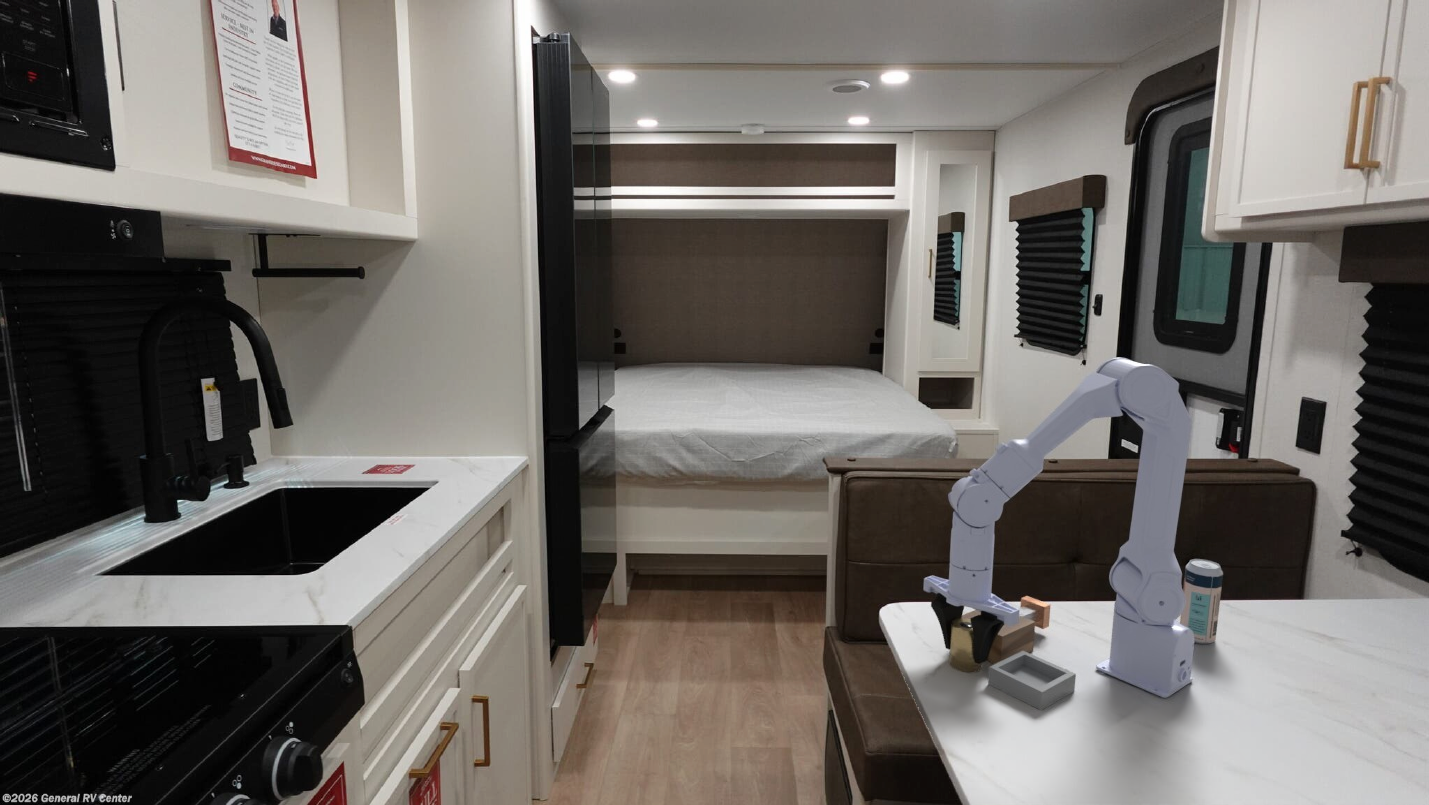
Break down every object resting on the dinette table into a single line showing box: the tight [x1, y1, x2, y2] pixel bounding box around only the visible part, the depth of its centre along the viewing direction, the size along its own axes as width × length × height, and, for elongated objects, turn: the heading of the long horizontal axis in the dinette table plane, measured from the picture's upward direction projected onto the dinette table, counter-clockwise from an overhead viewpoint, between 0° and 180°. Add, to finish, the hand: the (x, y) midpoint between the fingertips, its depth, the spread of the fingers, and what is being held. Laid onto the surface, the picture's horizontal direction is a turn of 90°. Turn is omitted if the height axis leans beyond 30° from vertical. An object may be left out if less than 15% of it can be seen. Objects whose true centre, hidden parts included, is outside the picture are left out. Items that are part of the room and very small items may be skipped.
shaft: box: [1018, 595, 1051, 630], centre depth 116 cm, size 4×10×4 cm, turn 125°
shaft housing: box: [962, 609, 1036, 665], centre depth 113 cm, size 8×8×5 cm
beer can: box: [1179, 558, 1224, 645], centre depth 115 cm, size 5×5×12 cm
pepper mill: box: [948, 618, 983, 673], centre depth 108 cm, size 4×4×6 cm
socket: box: [987, 651, 1077, 711], centre depth 103 cm, size 8×8×2 cm
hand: (966, 654), depth 109 cm, fingers closed on pepper mill, 4 cm apart
